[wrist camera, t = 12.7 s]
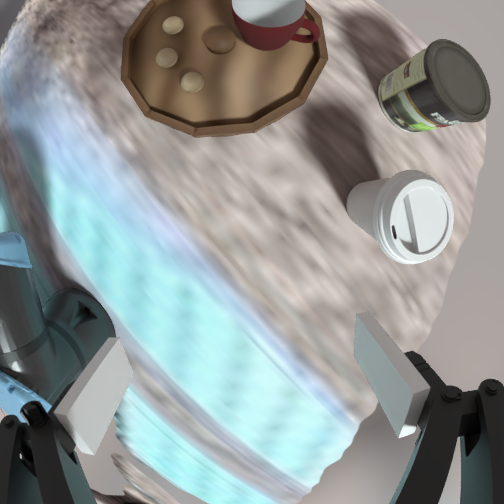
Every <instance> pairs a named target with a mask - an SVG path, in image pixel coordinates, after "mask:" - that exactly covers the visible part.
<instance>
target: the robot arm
mask: <svg viewBox="0 0 504 504" xmlns="http://www.w3.org/2000/svg"><path fill="white" fill-rule="evenodd" d="M32 268H33V267H32V264H31V263H30V259H29V255H28V251H27V247H26V243H25V240H24V238H23V237H22V236H21V235H20V234H19V233H17V232H2V233H0V407H1V408H2V409H3V410H4V411H5V412H6V413H7V414H9V415H8V416H5V417H4V418H3V420H2V421H1V423H0V504H97V503H96V500H95V498H94V496H93V494H92V492H91V489H90V487H89V485H88V483H87V480H86V477H85V475H84V472H83V470H82V467H81V464H80V462H79V459H78V456H77V454H76V452H75V451H74V448H75V446H76V445H77V447H78V448H79V449H80V450H81V452H82V453H86V454H90V455H95V454H96V451H97V449H98V447H99V445H100V443H101V441H102V439H103V437H104V434H105V432H106V430H107V428H108V426H109V424H110V422H111V420H112V418H113V416H114V414H115V412H116V410H117V408H118V406H119V404H120V402H121V400H122V398H123V396H124V394H125V392H126V390H127V388H128V386H129V384H130V382H131V380H132V378H133V376H134V374H133V371H132V369H131V366H130V364H129V361H128V359H127V356H126V354H125V351H124V348H123V345H122V343H121V340H120V337H116V334H115V330H114V327H113V324H112V322H111V320H110V318H109V316H108V314H107V313H106V312H105V310H104V309H103V308H102V306H101V305H100V304H99V303H98V302H97V301H96V300H95V299H93V298H92V297H91V296H89V295H88V294H86V293H84V292H82V291H80V290H77V289H63V290H61V291H59V292H58V293H56V294H55V295H53V296H52V297H51V298H50V299H49V300H48V302H47V303H46V306H45V307H44V309H43V310H42V306H41V303H40V300H39V296H38V292H37V289H36V285H35V281H34V277H33V272H32ZM354 357H355V358H356V360H357V362H358V364H359V365H360V367H361V369H362V371H363V373H364V375H365V376H366V378H367V380H368V382H369V384H370V385H371V387H372V389H373V391H374V393H375V395H376V397H377V398H378V400H379V402H380V404H381V406H382V408H383V410H384V411H385V413H386V415H387V417H388V419H389V421H390V423H391V425H392V427H393V429H394V431H395V433H396V435H397V437H398V438H401V437H404V436H406V435H409V434H412V433H414V431H415V429H416V427H417V424H418V426H419V427H420V429H421V432H420V434H419V436H418V439H417V441H416V443H415V444H416V446H415V448H414V451H413V453H412V456H411V458H410V461H409V463H408V466H407V468H406V470H405V472H404V475H403V477H402V479H401V482H400V484H399V486H398V488H397V490H396V492H395V494H394V496H393V498H392V500H391V502H390V503H389V504H438V502H439V499H440V497H441V494H442V491H443V488H444V485H445V482H446V479H447V476H448V473H449V469H450V466H451V462H452V459H453V454H454V450H455V446H456V442H457V438H458V437H459V436H460V446H461V497H460V504H504V386H503V384H502V383H501V382H499V381H498V380H495V379H487V380H484V381H483V382H481V384H480V386H479V388H478V390H473V391H467V392H462V390H461V389H459V388H458V387H455V386H446V384H445V383H444V382H443V381H442V380H441V379H440V377H439V376H438V375H437V374H436V373H435V371H434V370H433V369H432V368H431V367H430V366H429V364H428V363H426V361H425V360H424V359H423V357H422V356H421V355H419V354H417V353H415V352H414V351H410V352H406V353H403V352H402V350H401V349H400V348H399V347H398V346H397V344H396V343H395V342H394V341H393V339H392V338H391V337H390V336H389V335H388V333H387V332H386V331H385V330H384V329H383V327H382V326H381V325H380V324H379V323H378V321H377V320H376V319H375V318H374V317H373V316H372V314H371V313H370V312H363V313H358V314H356V327H355V345H354ZM20 454H21V455H22V459H20Z"/></svg>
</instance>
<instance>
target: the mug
mask: <svg viewBox="0 0 504 504" xmlns="http://www.w3.org/2000/svg"><path fill="white" fill-rule="evenodd" d="M231 9H232V16H233V20H234V22H235V24H236V26H237V28H238V30H239V32H240V34H241V36H242V38H243V39H244V41H245V42H246V43H247V44H249V45H250V46H251V47H253V48H255V49H258V50H262V51H272V50H276V49H279V48H281V47H282V46H284V45H285V44H287V43H288V42H289V41H290V40H292V41H296V42H300V43H313V42H315V41H317V40H318V39H319V37H320V29H319V27H318V25H317V24H316V23H314V22H313V21H311V20H309V19H306V18H304V15H305V11H306V2H305V0H231ZM299 28H305V29H307V30H309V31H310V32H311V33H312V34H310V35H301V34H295V33H296V31H297V30H298V29H299Z"/></svg>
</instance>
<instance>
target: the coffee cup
mask: <svg viewBox="0 0 504 504" xmlns="http://www.w3.org/2000/svg"><path fill="white" fill-rule="evenodd" d="M346 206H347V212H348V215H349V217H350V218H351V220H352V221H353V222H354V223H355V224H357V225H358V226H359V227H360V228H362V229H363V230H364V231H365V232H367V233H368V234H369V235H370V236H372V237H373V238H374V239H375V240H376V241H377V242H378V244H379V246H380V247H381V249H382V250H383V252H384V253H385V254H386V255H387V256H388V257H390V258H391V259H393V260H394V261H396V262H399V263H403V264H417V263H421V262H424V261H427V260H430V259H432V258H434V257H435V256H437V255H438V254H439V253H440V252H441V251H442V250H443V249H444V247H445V246H446V244H447V243H448V241H449V238H450V236H451V233H452V229H453V222H454V213H453V207H452V203H451V200H450V198H449V196H448V194H447V193H446V191H445V190H444V189H443V188H442V186H441V185H440V184H439V183H438V182H437V181H436V180H435V179H434V178H433V177H431V176H430V175H428V174H426V173H424V172H421V171H418V170H406V171H402V172H400V173H397V174H396V175H394V176H393V177H391V178H386V179H380V180H373V181H367V182H362V183H359V184H357V185H356V186H355V187H353V189H352V190H351V191H350V193H349V195H348V197H347V203H346Z"/></svg>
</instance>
